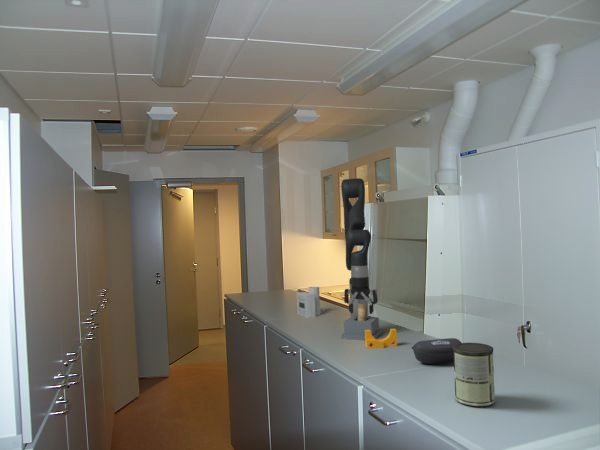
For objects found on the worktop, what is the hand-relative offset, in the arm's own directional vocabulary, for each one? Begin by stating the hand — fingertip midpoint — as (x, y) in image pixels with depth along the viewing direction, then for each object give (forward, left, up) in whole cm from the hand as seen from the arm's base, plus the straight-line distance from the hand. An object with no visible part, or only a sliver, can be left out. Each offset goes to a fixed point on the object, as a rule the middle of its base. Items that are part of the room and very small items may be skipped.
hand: (361, 313), depth 209 cm
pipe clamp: (+16, +13, -10) cm, 23 cm away
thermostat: (-39, -38, -10) cm, 55 cm away
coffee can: (+64, +50, -10) cm, 82 cm away
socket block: (0, 0, -10) cm, 10 cm away
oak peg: (0, 0, -8) cm, 8 cm away
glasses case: (+31, +36, -10) cm, 49 cm away
